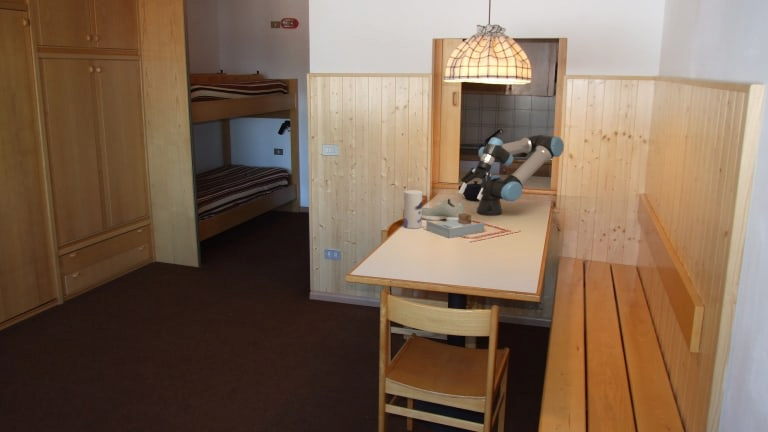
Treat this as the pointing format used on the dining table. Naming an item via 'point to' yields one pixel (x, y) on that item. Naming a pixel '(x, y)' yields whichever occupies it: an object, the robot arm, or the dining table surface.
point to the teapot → (472, 191)
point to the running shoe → (443, 211)
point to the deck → (454, 228)
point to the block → (464, 218)
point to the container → (413, 209)
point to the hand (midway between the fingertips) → (469, 196)
